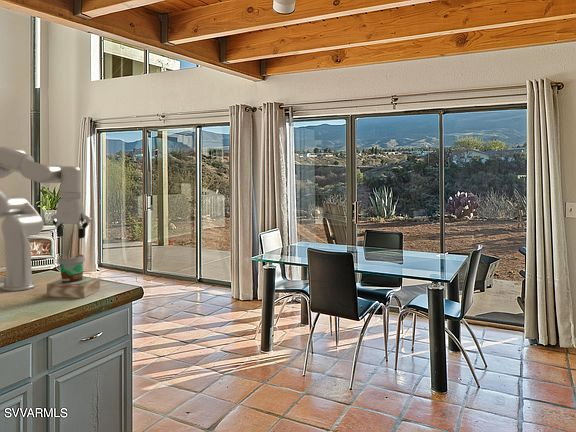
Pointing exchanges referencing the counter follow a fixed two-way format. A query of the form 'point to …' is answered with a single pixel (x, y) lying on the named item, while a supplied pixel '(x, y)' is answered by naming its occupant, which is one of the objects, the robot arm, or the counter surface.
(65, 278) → the food container
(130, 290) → the counter surface
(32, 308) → the counter surface
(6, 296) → the counter surface
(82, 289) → the birch stand
